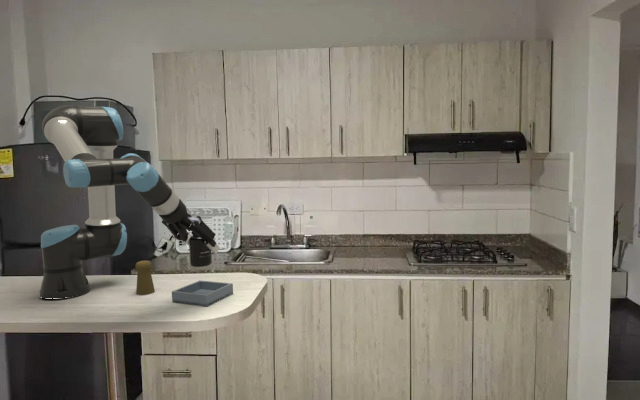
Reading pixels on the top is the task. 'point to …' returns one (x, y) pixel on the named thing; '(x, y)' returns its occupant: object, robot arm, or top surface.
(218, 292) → the tray
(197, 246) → the supplement bottle
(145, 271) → the cork
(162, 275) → the top surface
